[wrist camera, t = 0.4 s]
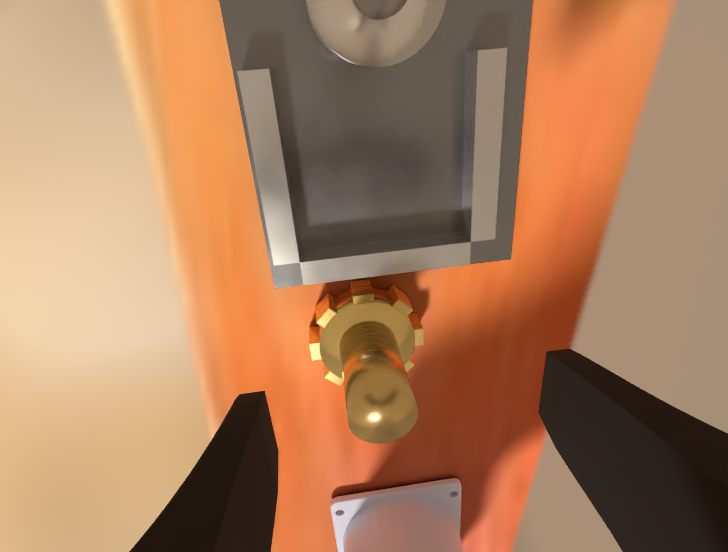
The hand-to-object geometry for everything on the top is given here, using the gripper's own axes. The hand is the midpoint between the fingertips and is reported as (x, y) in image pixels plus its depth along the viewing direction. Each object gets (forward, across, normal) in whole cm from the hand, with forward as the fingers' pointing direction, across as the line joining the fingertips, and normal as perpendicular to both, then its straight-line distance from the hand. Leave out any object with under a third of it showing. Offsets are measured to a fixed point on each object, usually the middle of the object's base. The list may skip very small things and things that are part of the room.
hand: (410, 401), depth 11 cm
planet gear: (+10, 0, +4) cm, 10 cm away
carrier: (+9, -1, -6) cm, 11 cm away
